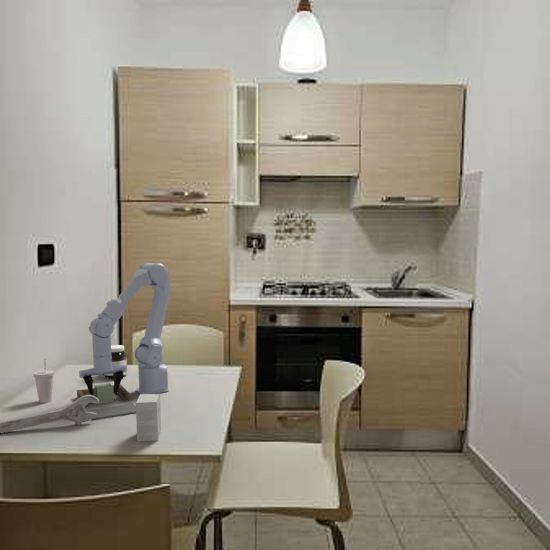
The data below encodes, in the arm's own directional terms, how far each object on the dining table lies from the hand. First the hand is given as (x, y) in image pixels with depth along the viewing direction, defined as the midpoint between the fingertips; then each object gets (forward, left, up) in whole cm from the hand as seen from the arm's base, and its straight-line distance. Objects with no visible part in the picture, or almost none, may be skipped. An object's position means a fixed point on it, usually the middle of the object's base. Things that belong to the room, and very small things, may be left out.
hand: (103, 396), depth 189 cm
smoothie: (+17, -9, -2) cm, 19 cm away
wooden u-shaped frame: (0, -2, -1) cm, 3 cm away
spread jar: (-9, -31, -2) cm, 32 cm away
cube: (0, 0, -2) cm, 2 cm away
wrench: (+20, +19, -2) cm, 28 cm away
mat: (0, +14, -1) cm, 14 cm away
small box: (-4, +40, -2) cm, 40 cm away
